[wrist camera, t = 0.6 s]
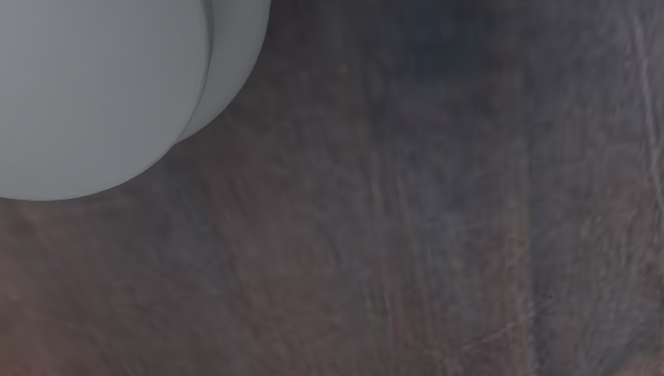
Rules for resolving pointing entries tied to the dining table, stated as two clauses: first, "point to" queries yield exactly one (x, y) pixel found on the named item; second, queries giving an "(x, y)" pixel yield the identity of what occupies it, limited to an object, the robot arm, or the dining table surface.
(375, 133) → the dining table surface
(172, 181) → the dining table surface
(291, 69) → the dining table surface
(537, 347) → the dining table surface
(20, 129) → the supplement bottle
